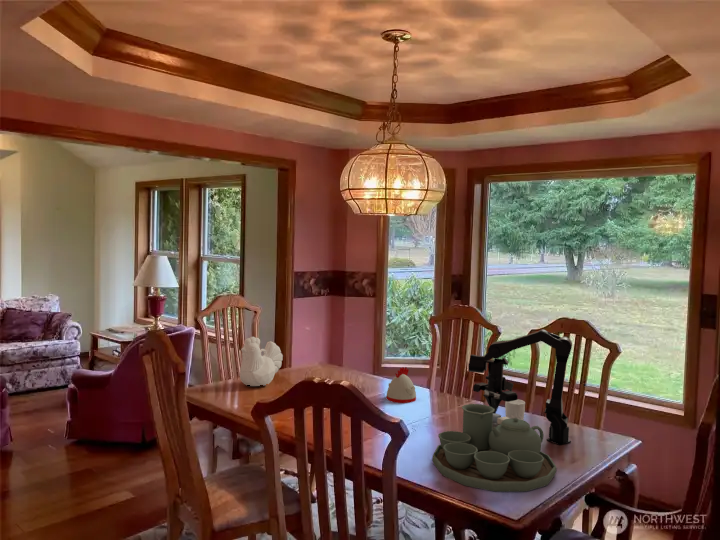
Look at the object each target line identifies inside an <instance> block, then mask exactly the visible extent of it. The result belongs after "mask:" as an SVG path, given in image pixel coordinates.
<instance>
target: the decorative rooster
mask: <svg viewBox="0 0 720 540" xmlns="http://www.w3.org/2000/svg"><path fill="white" fill-rule="evenodd" d="M260 344H261V339H260V338H259V337H255V336H250V337H247V338H245V340H244V344H243V345H242V347H241V349H240V350H241V359H242V360H241V365H240V367H239V368H240V369H239V379H240V382H242V384H244V385H245V386H247V385H250V386H249V387H261V386H260V385H263V386H267V385H266V384H268V385H269V384H271V382H272V381H273V379H274V377H275V374H276V373H278V372H279V369H280V368H281V367H282V364H283V363H282V361H283V357H284V355H283V353H282V351H281V348H280V346H279V345H277V344H276V342H273V341H271V340H270V341H267V342H266V345H265V347H264V348H260ZM262 352H263V353H262Z"/></svg>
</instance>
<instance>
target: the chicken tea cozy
mask: <svg viewBox="0 0 720 540" xmlns="http://www.w3.org/2000/svg"><path fill="white" fill-rule="evenodd" d="M409 372H410V370H409V368H407V366H402V367H400V368H399V370H397V372H396V373H395V376H394V377H393V378H392V380H391V381H390V382H389V383H388V388H387V391H386V398H387V399H388V400H387V399H386V398H385V399H386V400H387V401H389V402H391V401H392V403H399V404H408V403H413V402H414V403H415V402H416V401H417V394H416V393H417V392H416V386H415V385H414V383H413V381H412V380H411V378H410V377H409V376H408V374H409Z"/></svg>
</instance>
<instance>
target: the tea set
mask: <svg viewBox="0 0 720 540" xmlns="http://www.w3.org/2000/svg"><path fill="white" fill-rule="evenodd" d="M461 408H462V411H463V413H462V414H463V415H462V416H463V417H462V431H455V430H447V431H446V430H445V431H442V432H440V433H438V436H437V437H438V439H439V442H440V443H439V445H437V447H436V448H435V450H434V452H433V454H432V460H431V461H432V463H433V465H434V466H435V467H436V469H437V470H438V472H440V474H441V475H442V476H444V477H445V478H447V479H450V480H452V481H454V482H456V483H458V484H461V485H462V486H465V487H470V488H475V489H479V490H486V491H490V492H495V493H496V492H503V493H504V492H505V493H506V492H507V493H508V492H512V493H514V492H515V493H516V492H517V493H518V492H520V493H521V492H523V493H524V492H528V491H529V492H530V491H533V490H536V489H540V488H543V487H547V486H548V485H549V483H551V481H552V479H553V478H554V477H555V475H556V474H557V465H556V463H555V462H554V461H553V459H552V458H551V457H550V455H549V454H547V453H545V452H543V451H541V449H542V443H543V440H544V434H545V433H544V431H543V429H542V428H541V427H540V426H538V425H533V426H532V427H531V425H530V423H529V422H527V421H526V420H521V419H518V418H514V419H505V420H503V421H502V422H501V425H498V426H497V427H493V428H492V422H493V412H494V410H495V409H494V408H492V407H490V406H489V405H487V404H483V403H482V404H481V403H467V404H464V405H462V406H461ZM536 430H538V432H539V433H538V432H537V431H536Z"/></svg>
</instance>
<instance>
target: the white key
mask: <svg viewBox="0 0 720 540" xmlns="http://www.w3.org/2000/svg"><path fill="white" fill-rule="evenodd" d="M505 419H510V418H507V417H506V416H501V417H500V418H497V424H500V425H501V422H502V421H503V420H505Z"/></svg>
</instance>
